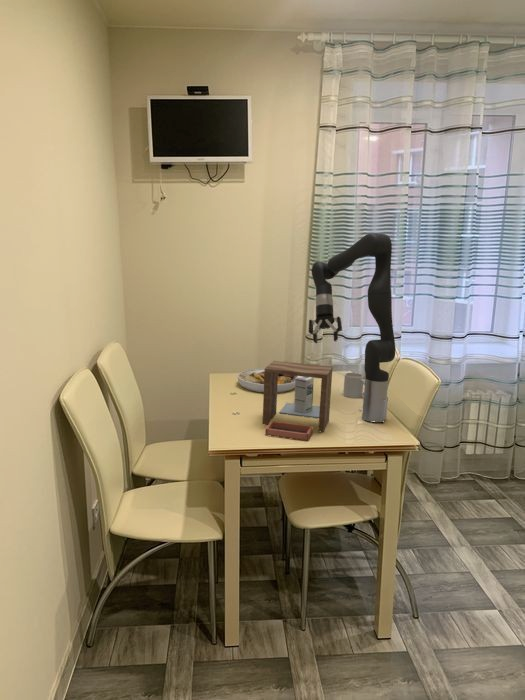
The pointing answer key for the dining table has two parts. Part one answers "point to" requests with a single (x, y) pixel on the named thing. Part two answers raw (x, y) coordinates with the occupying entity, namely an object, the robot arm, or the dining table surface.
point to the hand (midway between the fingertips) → (325, 342)
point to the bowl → (256, 381)
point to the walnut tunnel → (296, 370)
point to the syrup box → (303, 394)
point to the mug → (353, 385)
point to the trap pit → (289, 430)
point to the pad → (290, 410)
